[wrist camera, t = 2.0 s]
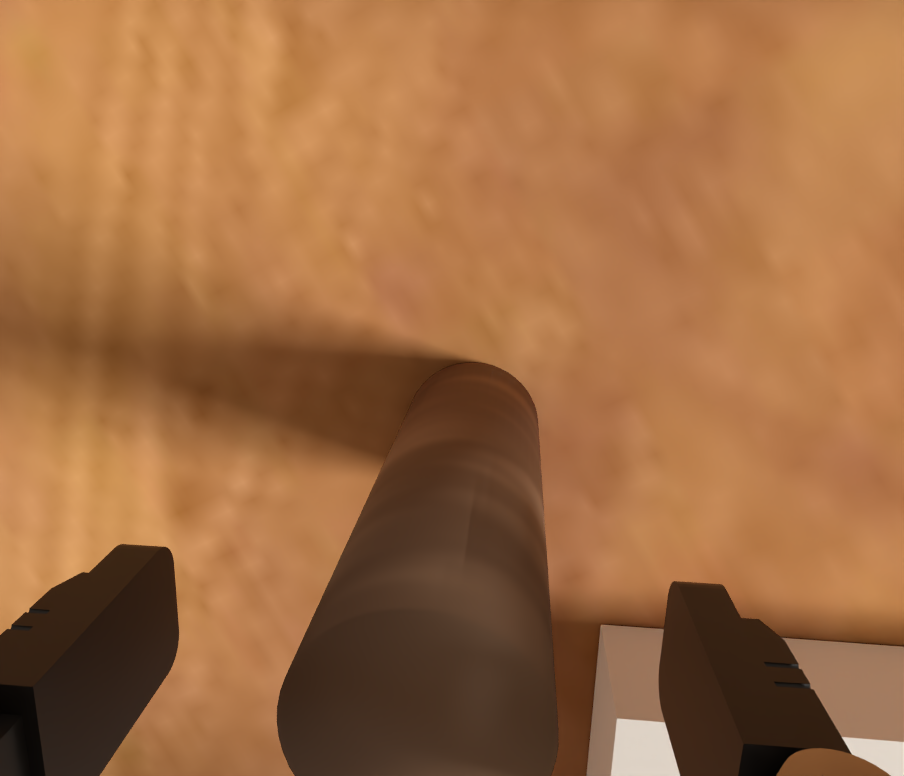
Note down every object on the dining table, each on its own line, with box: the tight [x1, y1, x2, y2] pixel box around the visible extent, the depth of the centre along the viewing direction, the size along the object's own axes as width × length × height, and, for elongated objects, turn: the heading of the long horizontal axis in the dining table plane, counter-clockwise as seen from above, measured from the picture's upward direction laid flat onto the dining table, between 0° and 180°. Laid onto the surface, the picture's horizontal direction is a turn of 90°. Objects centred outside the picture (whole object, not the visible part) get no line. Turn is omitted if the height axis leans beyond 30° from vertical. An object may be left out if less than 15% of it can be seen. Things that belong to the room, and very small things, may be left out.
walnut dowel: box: [277, 362, 558, 776], centre depth 15 cm, size 4×4×12 cm
